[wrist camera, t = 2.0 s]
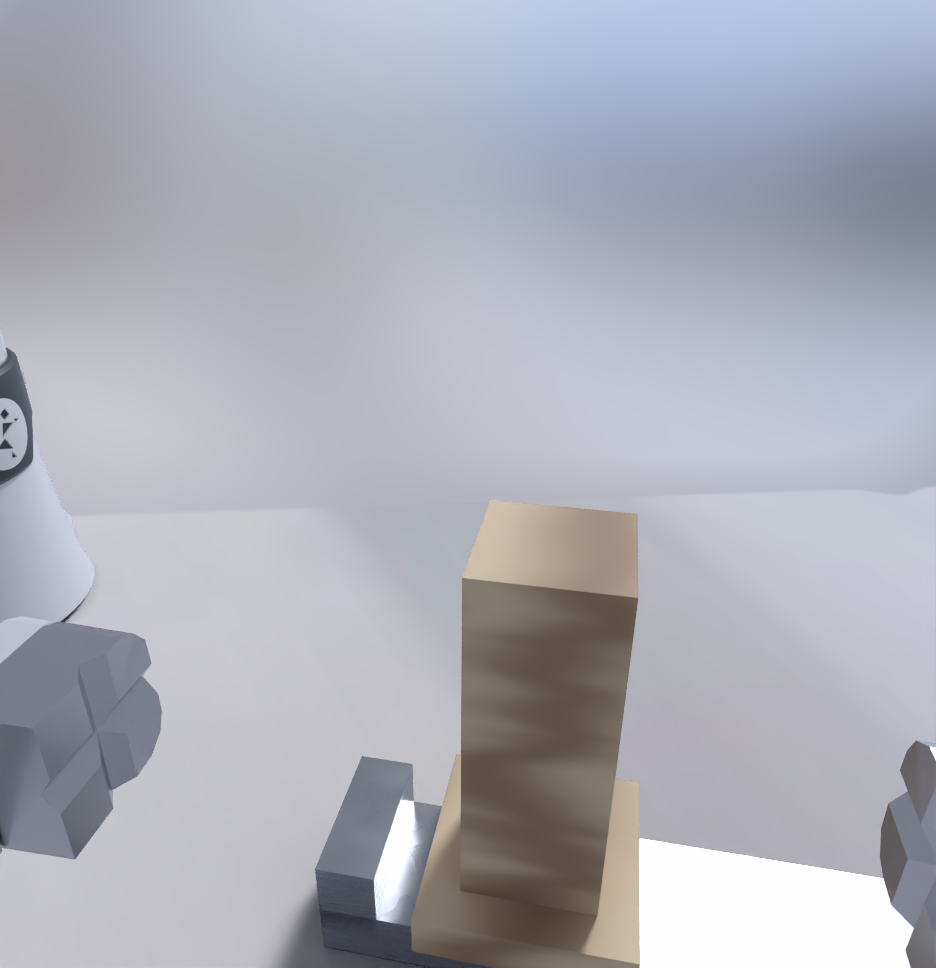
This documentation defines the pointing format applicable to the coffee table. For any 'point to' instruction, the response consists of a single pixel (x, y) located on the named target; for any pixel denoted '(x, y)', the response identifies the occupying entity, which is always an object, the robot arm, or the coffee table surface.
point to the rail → (663, 895)
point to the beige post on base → (540, 751)
